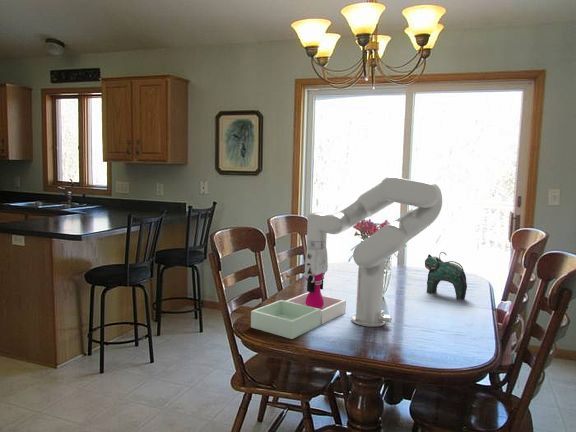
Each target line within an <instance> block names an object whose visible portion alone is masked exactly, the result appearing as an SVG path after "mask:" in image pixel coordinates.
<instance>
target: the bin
mask: <svg viewBox="0 0 576 432" xmlns="http://www.w3.org/2000/svg"><path fill="white" fill-rule="evenodd" d="M321 309H322V308H321ZM321 309H318V308H314V307H310V306H306V305H301V304H297V303H293V302H288V301H286V300H283V299H279V300H277V301H274V302H272V303H269V304H266V305H264V306H261V307H258V308H255V309H253V310H251V311H250V328H253V329H254V330H255V329H256V330H260V331H262V332H266V333H269V334H273V335H276V336H281V337H284V338H287V339H291V340H293V339H295V338H297V337H299V336H301V335H304V334H305V333H308V332H309V331H312V330H313V329H315V328H317V327H320V326H321V324H320V323H321Z"/></svg>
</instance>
